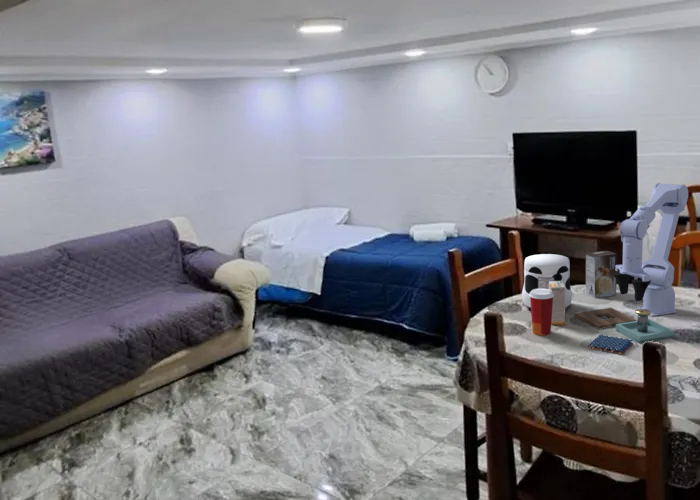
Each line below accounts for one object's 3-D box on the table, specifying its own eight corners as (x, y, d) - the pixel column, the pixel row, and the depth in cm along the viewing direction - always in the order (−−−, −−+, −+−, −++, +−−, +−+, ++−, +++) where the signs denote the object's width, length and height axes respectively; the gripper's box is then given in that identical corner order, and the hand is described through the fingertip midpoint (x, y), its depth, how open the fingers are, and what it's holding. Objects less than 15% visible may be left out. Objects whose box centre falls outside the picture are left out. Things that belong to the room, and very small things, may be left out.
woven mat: (598, 339, 205) (598, 333, 205) (633, 345, 198) (633, 339, 198) (586, 350, 197) (586, 343, 197) (622, 357, 191) (622, 350, 190)
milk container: (551, 297, 247) (551, 250, 243) (582, 309, 231) (583, 260, 227) (512, 305, 241) (511, 257, 237) (541, 318, 225) (541, 268, 221)
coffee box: (606, 290, 250) (607, 250, 246) (616, 295, 244) (617, 253, 240) (584, 293, 248) (585, 252, 244) (594, 298, 242) (595, 256, 238)
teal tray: (648, 325, 212) (648, 318, 211) (674, 337, 200) (674, 331, 200) (615, 330, 210) (615, 324, 209) (639, 343, 198) (639, 336, 198)
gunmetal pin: (644, 327, 208) (645, 308, 207) (653, 332, 204) (653, 312, 202) (631, 329, 207) (632, 309, 206) (640, 334, 203) (641, 314, 202)
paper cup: (554, 328, 215) (554, 288, 211) (553, 337, 208) (553, 295, 204) (529, 327, 217) (529, 287, 214) (528, 336, 210) (527, 294, 207)
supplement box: (565, 324, 218) (565, 287, 215) (550, 324, 219) (550, 287, 216) (562, 316, 225) (562, 280, 222) (548, 316, 226) (548, 280, 223)
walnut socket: (611, 310, 228) (611, 307, 228) (636, 322, 215) (636, 319, 215) (574, 315, 225) (574, 312, 225) (598, 328, 212) (598, 325, 212)
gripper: (607, 253, 215) (606, 292, 218) (636, 263, 201) (634, 305, 204) (626, 250, 216) (625, 289, 219) (656, 260, 203) (654, 302, 206)
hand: (631, 297), depth 212 cm, fingers open, 7 cm apart
